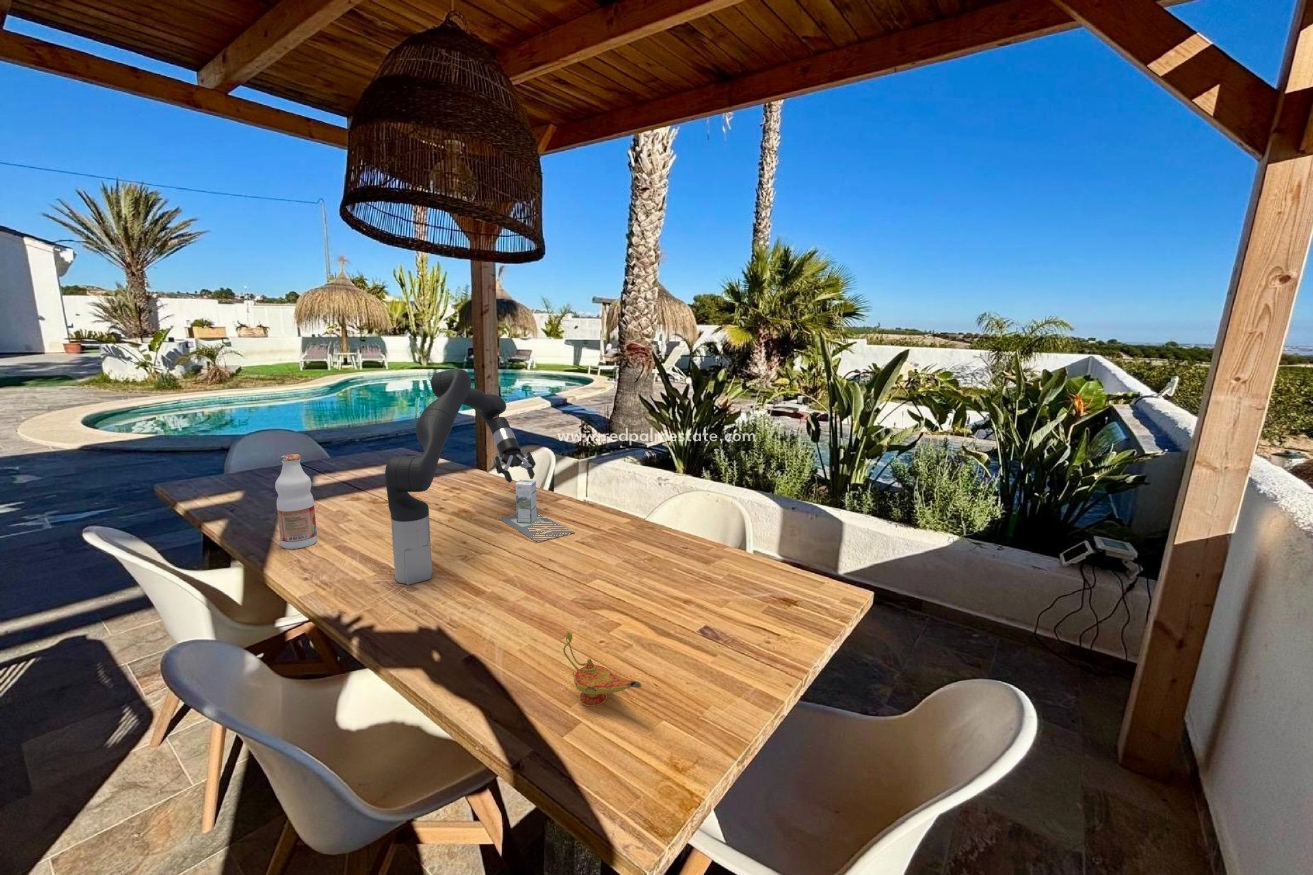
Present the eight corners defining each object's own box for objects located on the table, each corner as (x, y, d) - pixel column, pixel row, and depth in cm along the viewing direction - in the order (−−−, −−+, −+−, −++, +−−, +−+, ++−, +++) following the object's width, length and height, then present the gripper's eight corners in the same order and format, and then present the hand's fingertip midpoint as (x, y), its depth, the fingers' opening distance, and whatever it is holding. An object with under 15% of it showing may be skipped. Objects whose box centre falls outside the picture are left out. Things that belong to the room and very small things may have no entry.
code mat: (574, 533, 178) (574, 532, 178) (537, 542, 169) (537, 542, 169) (534, 511, 199) (534, 511, 199) (499, 519, 190) (499, 518, 190)
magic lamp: (628, 732, 89) (629, 673, 87) (550, 691, 98) (550, 637, 96) (651, 709, 94) (652, 653, 92) (575, 673, 104) (575, 621, 102)
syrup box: (537, 518, 191) (536, 479, 188) (531, 523, 185) (531, 484, 182) (521, 517, 191) (521, 478, 189) (516, 522, 186) (515, 483, 183)
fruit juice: (274, 546, 161) (263, 457, 156) (304, 536, 170) (296, 451, 165) (294, 551, 158) (284, 460, 152) (324, 541, 166) (316, 454, 161)
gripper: (490, 439, 188) (506, 477, 182) (527, 435, 197) (543, 471, 191) (485, 451, 193) (499, 488, 186) (520, 446, 202) (536, 482, 196)
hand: (521, 479), depth 189 cm, fingers open, 8 cm apart
